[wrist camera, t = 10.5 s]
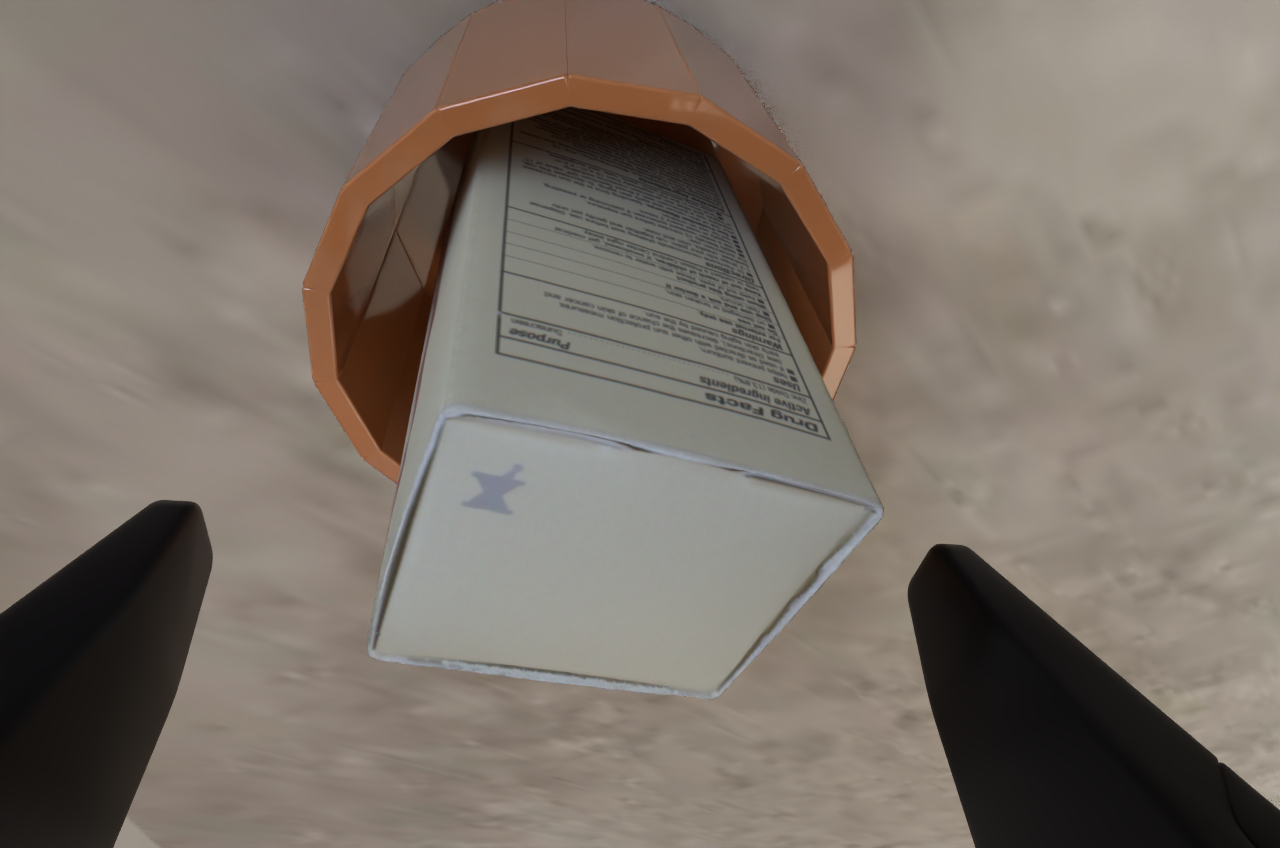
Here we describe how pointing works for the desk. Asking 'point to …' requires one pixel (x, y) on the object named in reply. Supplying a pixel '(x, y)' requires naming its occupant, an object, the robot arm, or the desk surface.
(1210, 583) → the desk surface
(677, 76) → the copper cup
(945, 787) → the desk surface
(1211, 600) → the desk surface
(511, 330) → the medicine box
